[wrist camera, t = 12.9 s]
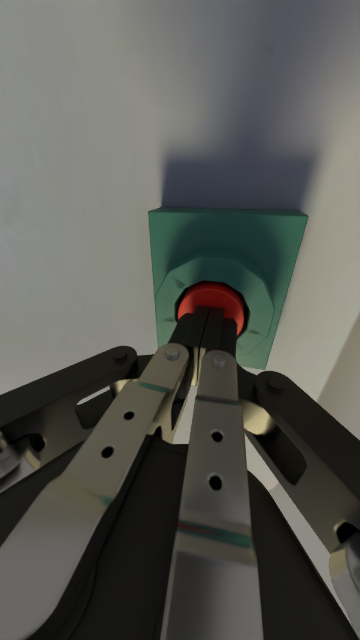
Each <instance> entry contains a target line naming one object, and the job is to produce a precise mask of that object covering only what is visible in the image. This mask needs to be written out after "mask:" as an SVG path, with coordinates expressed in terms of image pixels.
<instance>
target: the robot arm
mask: <svg viewBox="0 0 360 640" xmlns="http://www.w3.org/2000/svg"><path fill="white" fill-rule="evenodd" d="M224 313H225V308H219V307H210V306H202V305H197V306H196V308H195V311H194V314H193V313H185V314H184V315H182V316H181V317H180V319H179V321H178V323H177V325H176V327H175V329H174V331H173V333H172V335H171V337H170V339H169V341H168V343H167V344H165V345H162V346H161V347H159V348H158V350H157V351H156V352H155V354H152V355H141V356H137V353H136V351H135V349H133V348H132V347H128V346H118V347H115V348H112V349H110V350H107V351H105V352H102V353H100V354H98V355H95V356H93V357H91V358H88V359H86V360H83V361H81V362H79V363H76V364H74V365H71V366H69V367H67V368H64V369H62V370H59V371H57V372H55V373H52V374H50V375H47V376H45V377H43V378H40V379H38V380H35V381H33V382H31V383H28V384H26V385H23V386H21V387H19V388H16V389H14V390H11V391H9V392H7V393H4V394H2V395H0V640H360V440H358V439H357V438H356V437H355V436H354V435H353V434H351V433H350V432H349V431H348V430H347V429H346V428H345V427H344V426H342V425H341V424H340V423H339V422H338V421H337V420H336V419H335V418H333V417H332V416H331V415H330V414H329V413H327V411H326V410H324V409H323V408H322V407H321V406H320V405H319V404H318V403H316V402H315V401H314V400H313V399H312V398H311V397H310V396H309V395H307V394H306V393H305V392H304V391H303V390H302V389H301V388H300V387H298V386H297V385H296V384H295V383H294V382H293V381H292V380H290V379H289V378H288V377H287V376H285V375H283V374H281V373H278V372H274V371H264V372H261V373H259V374H258V375H255V374H252V373H250V372H248V371H246V370H244V369H243V368H242V367H241V366H240V365H239V364H238V363H237V361H236V344H237V327H238V324H237V323H236V321H235V319H234V318H226V317H224ZM197 382H198V389H197V396H196V398H195V404H194V411H193V418H192V425H191V432H190V439H189V444H173V439H174V435H175V433H176V430H177V427H178V424H179V422H180V419H181V416H182V413H183V411H184V408H185V405H186V402H187V399H188V393H189V390H190V387H191V385H192V386H197ZM107 386H109V387H110V390H108V391H106V392H104V393H102V394H100V395H98V396H96V397H94V398H92V399H90V400H88V401H86V402H85V403H83V404H80V405H76V404H77V403H78V402H79V401H80V400H82V399H83V398H85V397H87V396H89V395H91V394H93V393H95V392H97V391H99V390H101V389H103V388H105V387H107ZM244 432H245V434H246V436H247V437H248V439H249V440H250V442H251V443H252V445H253V446H254V447H255V449H256V450H257V452H258V453H259V454H260V456H261V457H262V459H263V460H264V461H265V463H266V464H267V466H268V467H269V468H270V470H271V471H272V473H273V474H274V476H275V477H276V478H277V480H278V481H279V483H280V484H281V485H282V487H283V488H284V490H285V491H286V492H287V494H288V495H289V497H290V498H291V499H292V501H293V502H294V504H295V505H296V506H297V508H298V509H299V511H300V512H301V513H302V515H303V516H304V518H305V519H306V520H307V522H308V523H309V525H310V526H311V528H312V529H313V530H314V532H315V533H316V535H317V536H318V537H319V539H320V540H321V542H322V543H323V545H324V546H325V547H326V549H327V550H328V552H329V553H330V554H331V555H330V559H329V571H330V576H331V581H332V583H333V586H334V589H335V591H336V593H337V596H338V597H339V599H340V601H341V603H342V605H343V607H344V608H345V610H346V612H347V614H348V617H349V619H350V621H351V624H352V626H351V624H350V623H349V621H348V620H347V618H346V616H345V615H344V613H343V611H342V610H341V608H340V607H339V605H338V603H337V602H336V600H335V598H334V597H333V595H332V594H331V592H330V590H329V589H328V587H327V586H326V584H325V582H324V581H323V579H322V577H321V576H320V574H319V572H318V571H317V569H316V568H315V566H314V564H313V563H312V561H311V559H310V558H309V556H308V555H307V553H306V552H305V550H304V548H303V547H302V545H301V543H300V542H299V540H298V538H297V537H296V535H295V534H294V532H293V530H292V529H291V527H290V525H289V524H288V522H287V520H286V519H285V517H284V516H283V514H282V512H281V511H280V509H279V508H278V506H277V504H276V503H275V501H274V499H273V498H272V496H271V495H270V493H269V492H268V491H267V489H266V488H265V487H264V485H263V484H262V483H261V482H260V481H259V480H258V479H257V478H256V477H255V476H254V475H253V474H252V473H251V472H250V471H248V470H247V462H246V448H245V434H244ZM352 627H353V628H352Z"/></svg>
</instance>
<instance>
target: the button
mask: <svg viewBox="0 0 360 640" xmlns="http://www.w3.org/2000/svg"><path fill="white" fill-rule="evenodd" d="M197 305H202V306H210V307H219V308H225V313H224V317H226V318H234V319H235V321H236V323H237V324H238V327H237V335H238V334H239V333H240V331H241V329H242V327H243V323H244V299H243V296H242V294H241V293H240V292H238V291H237V290H235V289H234V288H232V287H231V286H229V285H228V284H226V283H225V282H215V281H205V280H202V281H200V282H198V283H196V284H193V285H191V286H190V288H189V289H188V291H187V293H186V294H185V296H184V298H183V300H182V302H181V304H180V306H179V310H178V319H180V317H181V316H182V315H184V314H185V313H193V314H194V311H195V308H196V306H197Z"/></svg>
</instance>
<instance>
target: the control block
mask: <svg viewBox="0 0 360 640" xmlns="http://www.w3.org/2000/svg"><path fill="white" fill-rule="evenodd" d="M148 217H149V230H150V244H151V257H152V271H153V284H154V298H155V312H156V325H157V339H158V348H159V347H161V346H162V345H165V344H167V343H168V341H169V339H170V337H171V335H172V333H173V331H174V329H175V327H176V325H177V323H178V321H179V319H178V310H179V306H180V304H181V302H182V300H183V298H184V296H185V294H186V293H187V291H188V289H189V288H190V286H191V285H193V284H196V283H198V282H200V281H202V280H205V281H215V282H225V283H226V284H228V285H229V286H231V287H232V288H234V289H235V290H237V291H238V292H240V293H241V294H242V296H243V299H244V323H243V327H242V329H241V331H240V333H239V334H238V335H237V344H236V361H237V363H238V364H239V365H240V366H244V367H250V368H256V369H262V370H265V369H266V365H267V362H268V358H269V355H270V351H271V347H272V344H273V340H274V337H275V333H276V330H277V326H278V323H279V319H280V316H281V312H282V308H283V305H284V301H285V298H286V294H287V291H288V287H289V284H290V280H291V277H292V273H293V269H294V266H295V262H296V259H297V255H298V252H299V248H300V245H301V241H302V238H303V234H304V230H305V227H306V223H307V220H308V215H306V214H304V213H303V212H301V211H299V210H262V209H218V208H174V207H160V208H157V209H154V210H151V211H148Z"/></svg>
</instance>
